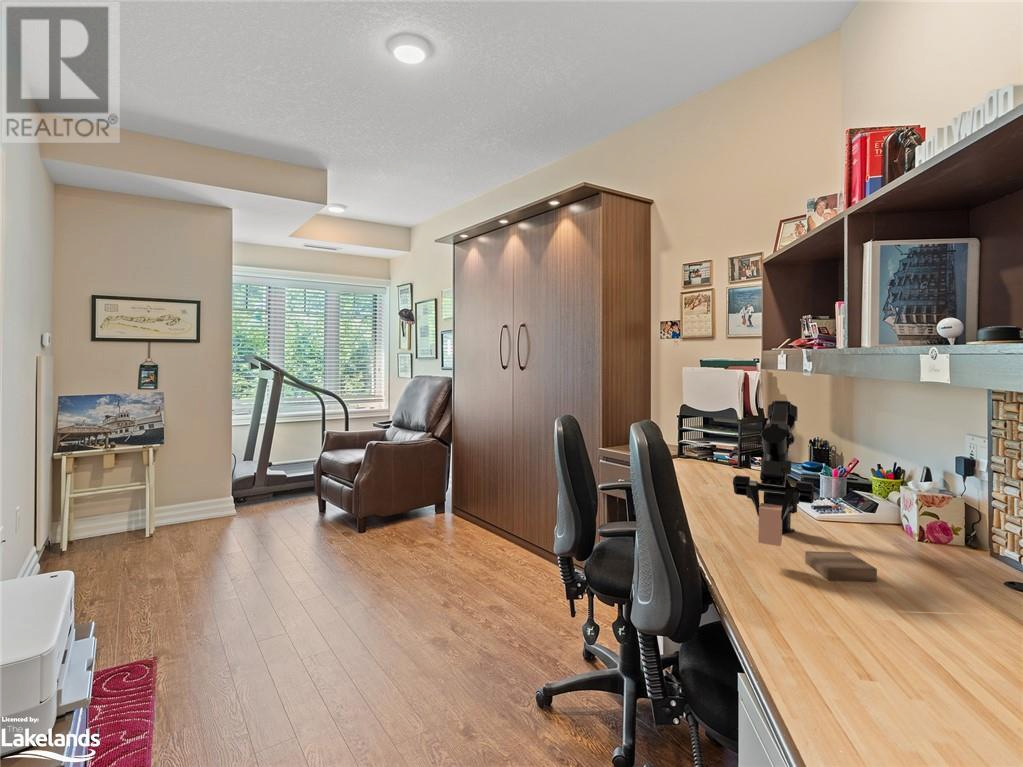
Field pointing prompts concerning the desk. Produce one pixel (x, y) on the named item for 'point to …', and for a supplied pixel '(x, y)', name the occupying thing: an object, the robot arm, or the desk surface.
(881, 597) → the desk surface
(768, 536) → the terracotta block
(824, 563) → the walnut plinth
